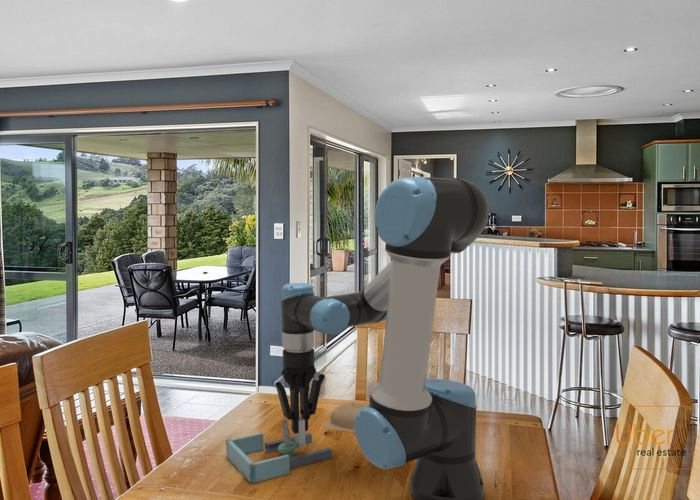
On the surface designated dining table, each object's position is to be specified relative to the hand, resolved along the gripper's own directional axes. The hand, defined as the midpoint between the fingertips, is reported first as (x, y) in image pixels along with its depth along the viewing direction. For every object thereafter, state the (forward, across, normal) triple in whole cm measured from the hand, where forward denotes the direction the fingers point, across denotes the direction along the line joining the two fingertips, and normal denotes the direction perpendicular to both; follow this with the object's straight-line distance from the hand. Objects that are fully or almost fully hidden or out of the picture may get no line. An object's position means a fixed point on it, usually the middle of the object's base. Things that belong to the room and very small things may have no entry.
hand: (300, 444), depth 140 cm
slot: (+2, +1, 0) cm, 2 cm away
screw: (+2, +3, 0) cm, 4 cm away
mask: (+3, -25, -6) cm, 26 cm away
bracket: (+2, +11, 0) cm, 11 cm away
